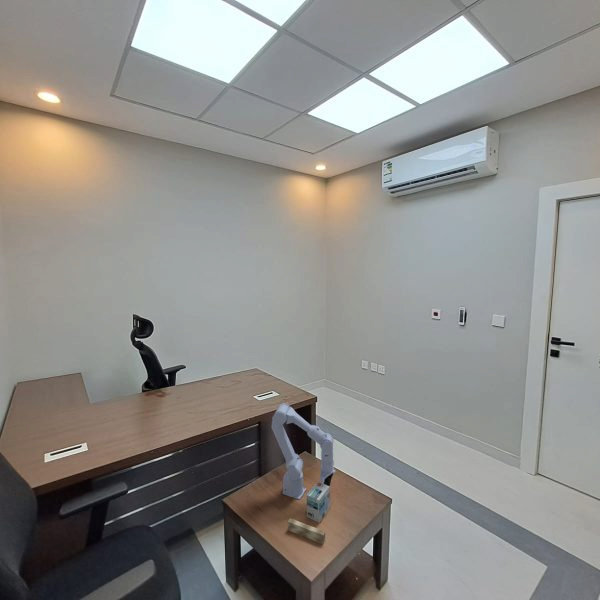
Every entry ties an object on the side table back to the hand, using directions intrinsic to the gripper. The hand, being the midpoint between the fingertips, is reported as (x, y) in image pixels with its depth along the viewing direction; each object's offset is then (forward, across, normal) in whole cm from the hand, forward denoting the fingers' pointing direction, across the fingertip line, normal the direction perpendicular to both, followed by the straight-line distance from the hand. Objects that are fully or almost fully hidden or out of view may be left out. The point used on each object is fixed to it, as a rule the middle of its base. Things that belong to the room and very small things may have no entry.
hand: (327, 486), depth 153 cm
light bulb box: (+5, -11, 0) cm, 12 cm away
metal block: (+5, -24, 0) cm, 25 cm away
